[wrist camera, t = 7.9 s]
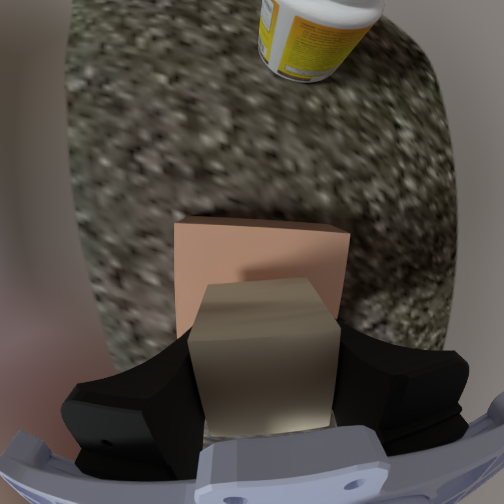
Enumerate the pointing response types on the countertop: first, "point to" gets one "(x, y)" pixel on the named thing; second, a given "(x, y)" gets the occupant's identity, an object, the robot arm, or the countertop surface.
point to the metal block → (264, 357)
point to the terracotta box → (254, 258)
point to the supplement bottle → (312, 34)
